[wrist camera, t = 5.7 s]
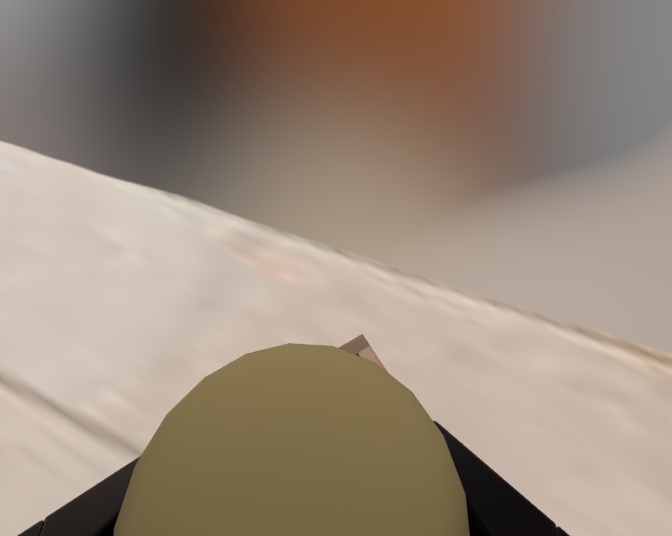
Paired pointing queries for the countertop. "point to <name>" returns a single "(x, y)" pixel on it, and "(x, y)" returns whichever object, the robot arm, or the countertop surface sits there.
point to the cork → (296, 455)
